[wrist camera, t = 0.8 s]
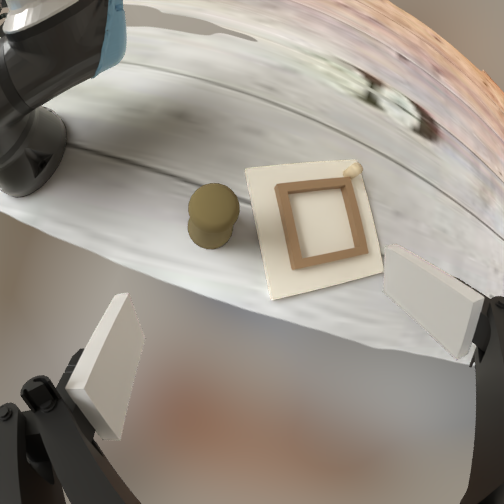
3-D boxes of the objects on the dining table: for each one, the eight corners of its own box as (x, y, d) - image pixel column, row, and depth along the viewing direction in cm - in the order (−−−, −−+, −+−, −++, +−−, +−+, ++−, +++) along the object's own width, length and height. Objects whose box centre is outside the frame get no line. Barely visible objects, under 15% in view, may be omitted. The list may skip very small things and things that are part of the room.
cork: (200, 196, 38) (202, 164, 28) (240, 216, 39) (256, 191, 28) (179, 236, 37) (172, 217, 26) (220, 257, 38) (229, 246, 27)
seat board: (244, 171, 40) (249, 159, 36) (353, 162, 43) (366, 152, 39) (270, 299, 38) (278, 301, 34) (379, 272, 42) (395, 270, 38)
